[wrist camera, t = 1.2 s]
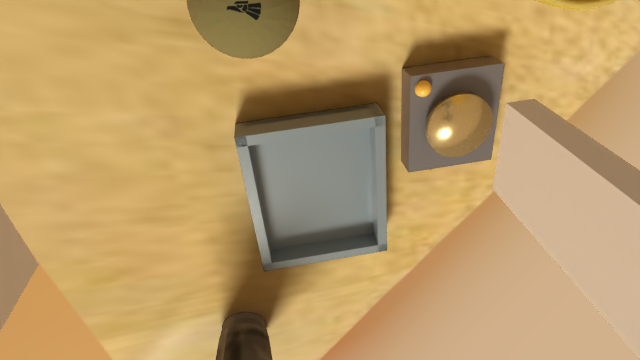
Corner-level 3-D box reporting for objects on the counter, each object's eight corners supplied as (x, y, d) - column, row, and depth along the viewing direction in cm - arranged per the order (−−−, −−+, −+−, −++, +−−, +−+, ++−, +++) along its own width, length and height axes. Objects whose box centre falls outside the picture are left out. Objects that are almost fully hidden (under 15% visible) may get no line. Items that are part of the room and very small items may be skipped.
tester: (402, 68, 32) (413, 79, 30) (491, 55, 32) (509, 66, 30) (401, 160, 36) (411, 176, 34) (479, 148, 37) (495, 163, 34)
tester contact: (426, 97, 31) (429, 100, 30) (492, 87, 31) (496, 90, 31) (423, 157, 33) (426, 161, 33) (485, 148, 34) (488, 151, 33)
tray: (235, 123, 32) (234, 137, 30) (376, 103, 33) (385, 115, 31) (263, 252, 39) (264, 271, 37) (379, 233, 40) (386, 250, 38)
